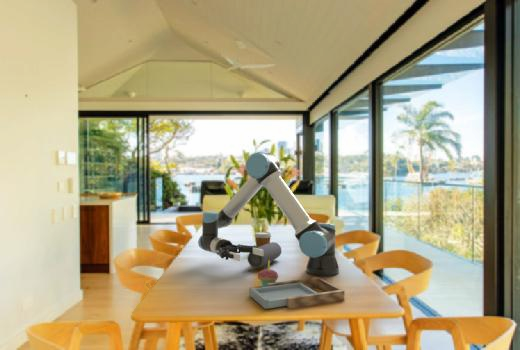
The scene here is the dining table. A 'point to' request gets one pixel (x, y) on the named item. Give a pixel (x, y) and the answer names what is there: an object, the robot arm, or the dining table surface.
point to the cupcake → (267, 276)
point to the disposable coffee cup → (262, 238)
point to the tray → (278, 294)
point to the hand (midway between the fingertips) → (251, 255)
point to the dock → (330, 295)
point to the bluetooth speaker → (265, 255)
